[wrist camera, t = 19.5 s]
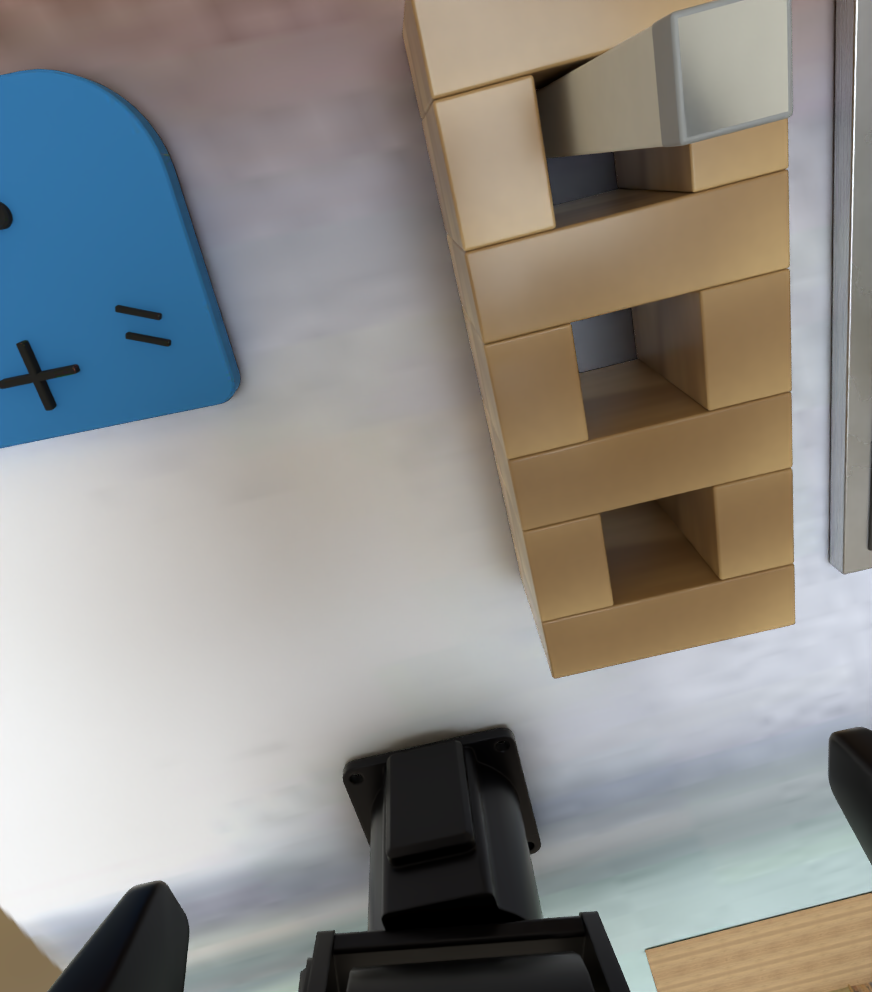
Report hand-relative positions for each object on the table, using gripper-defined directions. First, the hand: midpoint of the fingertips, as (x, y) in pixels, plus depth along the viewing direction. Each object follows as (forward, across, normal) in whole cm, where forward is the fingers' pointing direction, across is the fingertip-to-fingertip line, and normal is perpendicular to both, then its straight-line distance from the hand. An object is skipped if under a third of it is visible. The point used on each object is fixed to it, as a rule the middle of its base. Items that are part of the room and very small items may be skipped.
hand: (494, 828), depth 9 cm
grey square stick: (+13, -5, -8) cm, 16 cm away
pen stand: (+13, -5, -3) cm, 14 cm away
